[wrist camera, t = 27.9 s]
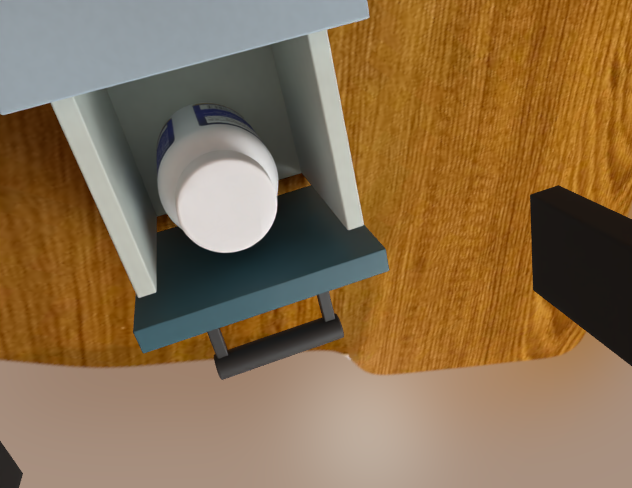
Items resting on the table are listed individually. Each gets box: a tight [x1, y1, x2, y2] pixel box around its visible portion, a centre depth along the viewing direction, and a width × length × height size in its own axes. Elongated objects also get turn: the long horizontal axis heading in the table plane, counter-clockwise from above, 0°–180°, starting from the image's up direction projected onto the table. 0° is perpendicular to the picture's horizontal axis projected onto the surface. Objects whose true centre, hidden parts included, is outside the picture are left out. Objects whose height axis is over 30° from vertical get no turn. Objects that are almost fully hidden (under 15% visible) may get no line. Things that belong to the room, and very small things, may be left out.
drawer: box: [51, 30, 389, 380], centre depth 26 cm, size 19×11×10 cm, turn 13°
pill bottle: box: [156, 102, 278, 253], centre depth 25 cm, size 5×5×9 cm
